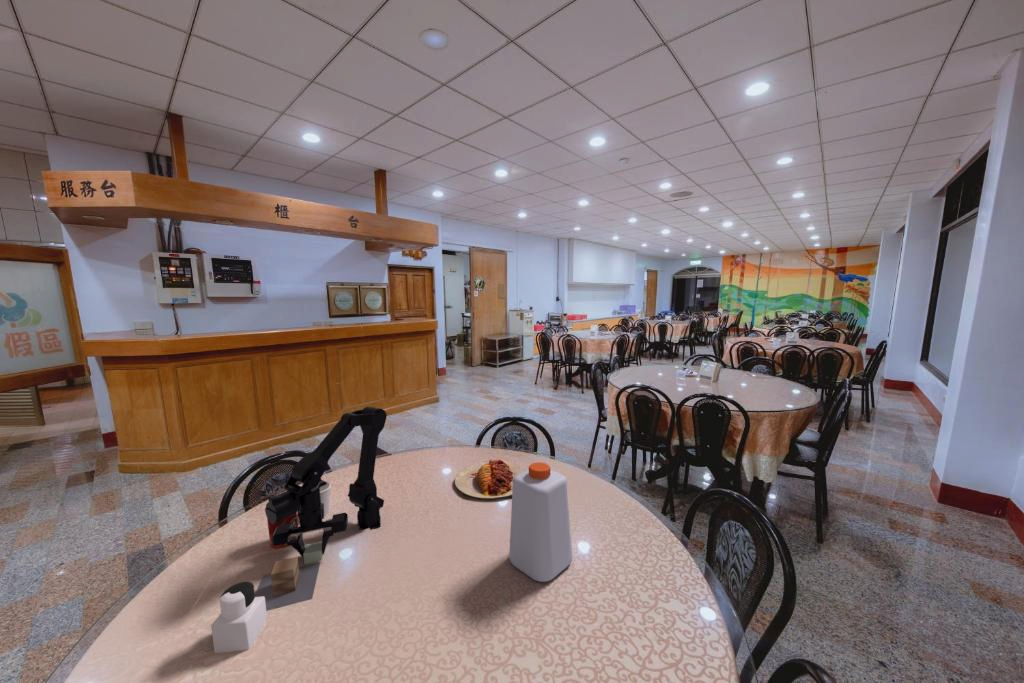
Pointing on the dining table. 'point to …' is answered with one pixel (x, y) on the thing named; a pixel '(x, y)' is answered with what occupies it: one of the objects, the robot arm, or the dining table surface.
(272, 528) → the canned food
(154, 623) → the dining table surface
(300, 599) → the plate
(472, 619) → the dining table surface
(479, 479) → the plate of pasta
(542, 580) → the plastic bottle
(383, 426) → the robot arm
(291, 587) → the tower base
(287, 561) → the tower top
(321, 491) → the dixie cup
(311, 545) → the sage block
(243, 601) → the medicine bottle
